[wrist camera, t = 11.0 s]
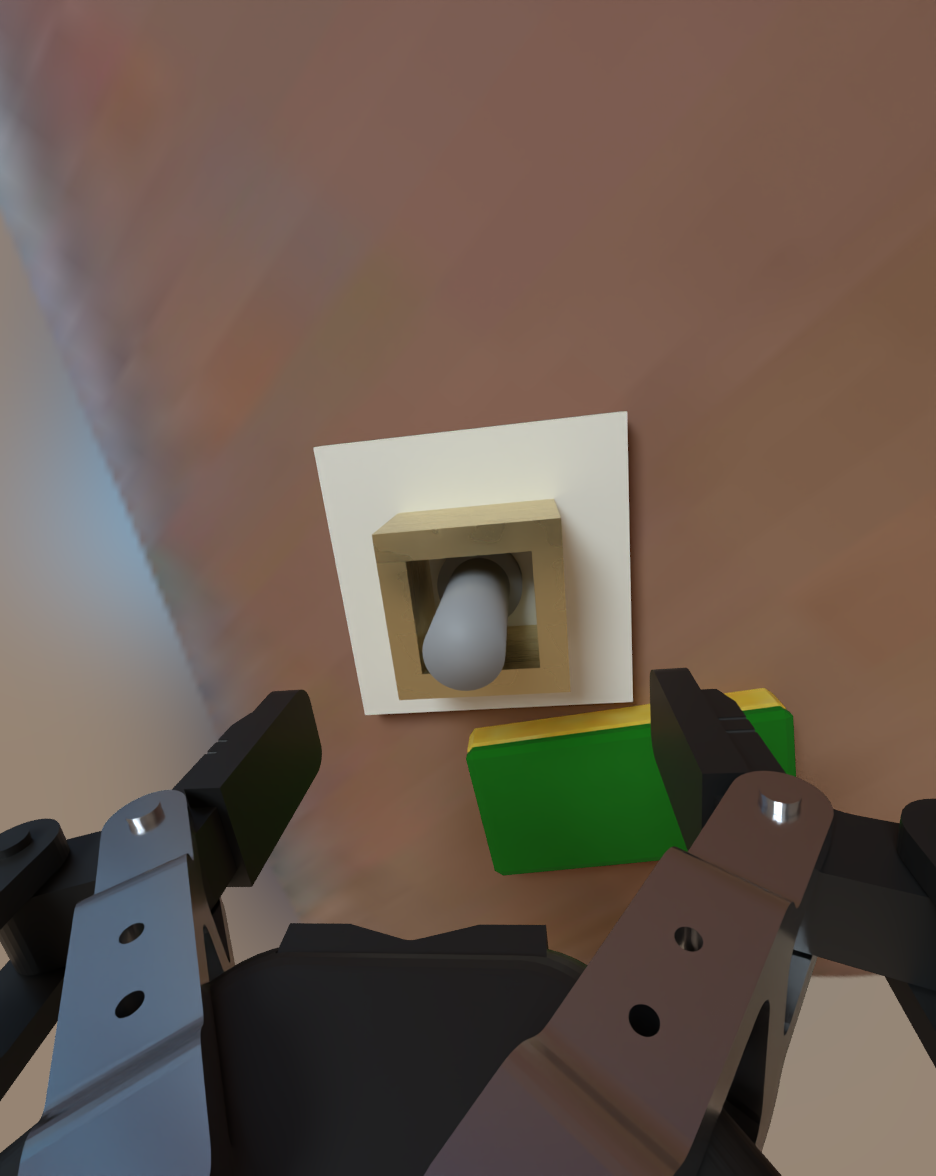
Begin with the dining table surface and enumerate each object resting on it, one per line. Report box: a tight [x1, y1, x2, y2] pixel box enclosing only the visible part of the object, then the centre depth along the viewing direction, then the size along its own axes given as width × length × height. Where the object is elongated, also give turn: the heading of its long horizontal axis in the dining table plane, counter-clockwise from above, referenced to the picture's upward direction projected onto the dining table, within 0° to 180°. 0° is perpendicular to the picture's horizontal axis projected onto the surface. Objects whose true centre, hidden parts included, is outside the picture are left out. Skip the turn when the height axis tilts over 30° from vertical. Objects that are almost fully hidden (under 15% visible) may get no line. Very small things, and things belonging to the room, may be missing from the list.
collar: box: [372, 499, 571, 700], centre depth 20 cm, size 6×6×4 cm
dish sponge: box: [466, 688, 796, 875], centre depth 25 cm, size 7×14×2 cm, turn 102°
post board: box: [314, 411, 633, 715], centre depth 19 cm, size 12×12×8 cm
